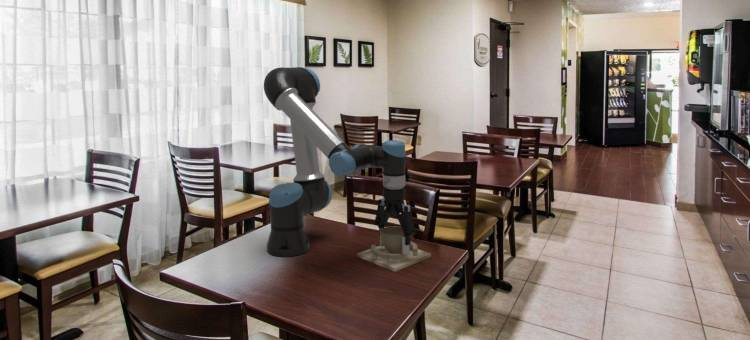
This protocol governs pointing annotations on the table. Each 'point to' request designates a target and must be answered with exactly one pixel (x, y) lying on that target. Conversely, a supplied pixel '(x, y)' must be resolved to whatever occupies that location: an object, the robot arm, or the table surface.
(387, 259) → the holder
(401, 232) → the flower pot
